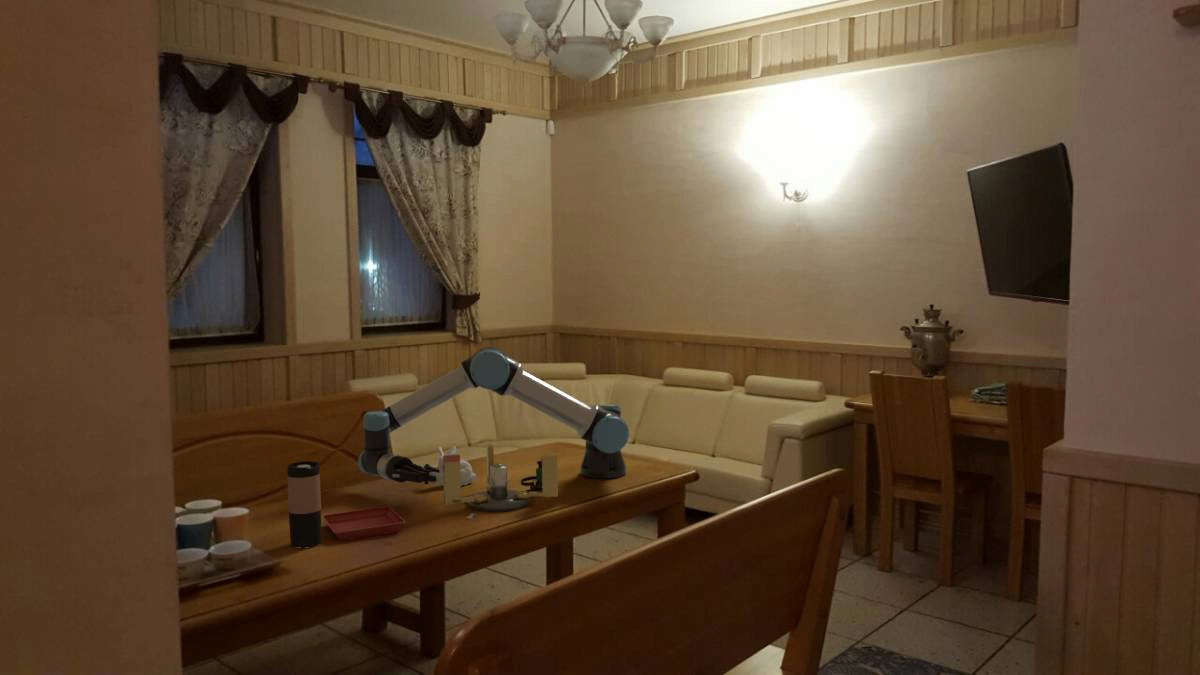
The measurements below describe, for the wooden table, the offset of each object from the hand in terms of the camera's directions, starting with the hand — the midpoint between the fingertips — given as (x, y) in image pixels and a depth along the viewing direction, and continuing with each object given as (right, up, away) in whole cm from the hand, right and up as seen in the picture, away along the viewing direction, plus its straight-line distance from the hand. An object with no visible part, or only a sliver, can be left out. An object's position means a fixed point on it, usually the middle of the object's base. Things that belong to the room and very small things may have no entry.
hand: (445, 480), depth 245 cm
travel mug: (-30, -11, -28) cm, 43 cm away
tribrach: (+17, -8, +6) cm, 20 cm away
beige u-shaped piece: (+5, -6, +1) cm, 9 cm away
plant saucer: (-19, -11, -16) cm, 27 cm away
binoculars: (+24, -7, +21) cm, 33 cm away
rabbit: (-3, -7, +32) cm, 33 cm away
